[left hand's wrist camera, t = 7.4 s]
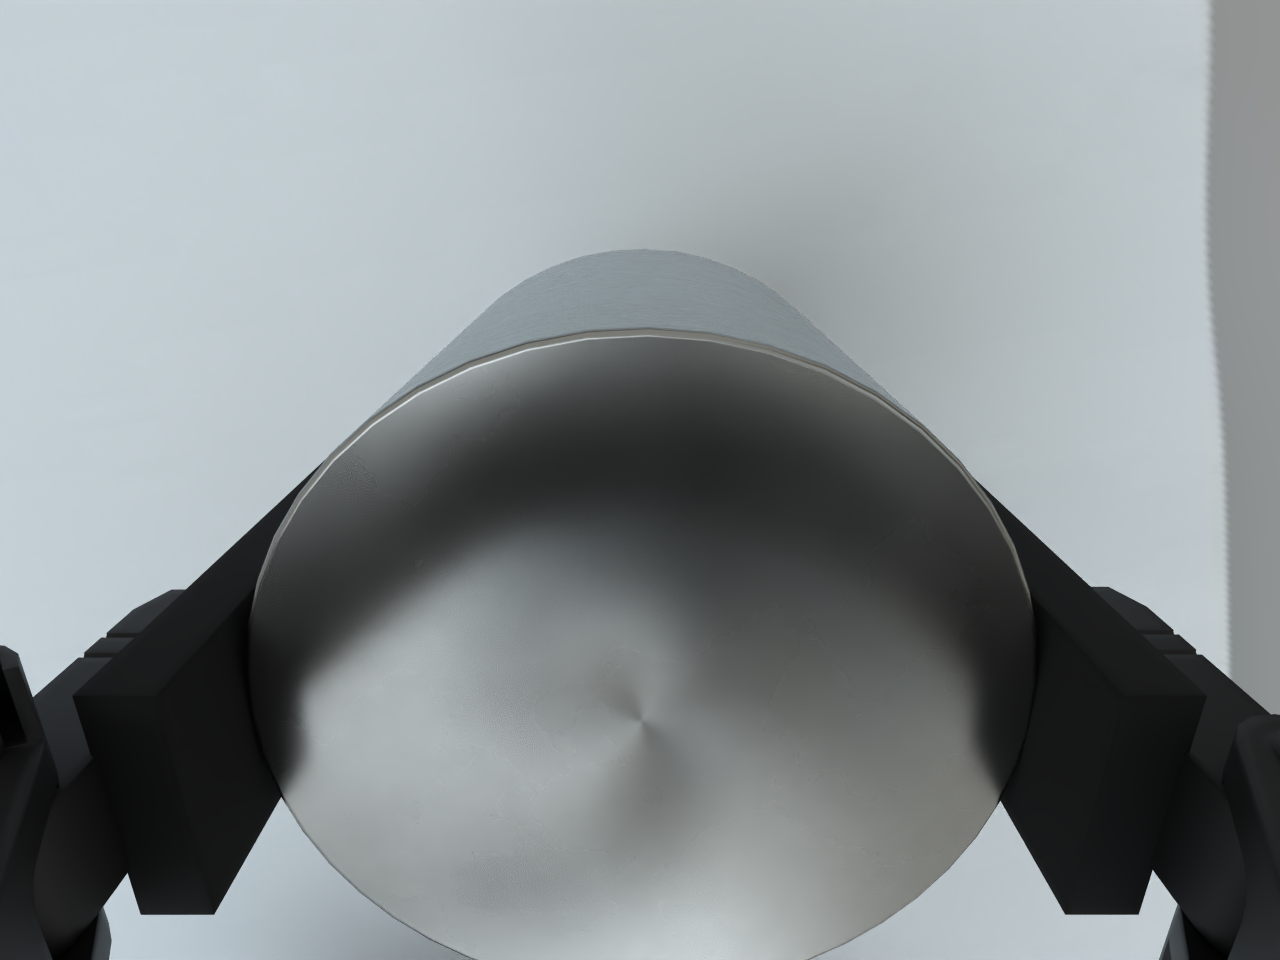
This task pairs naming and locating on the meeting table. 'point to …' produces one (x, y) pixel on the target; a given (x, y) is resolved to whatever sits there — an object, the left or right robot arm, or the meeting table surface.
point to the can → (641, 633)
